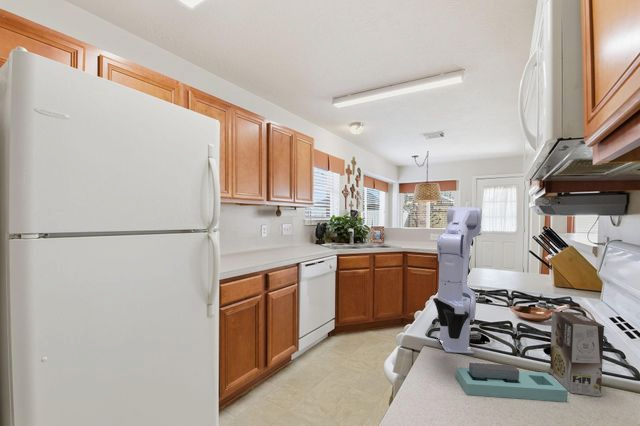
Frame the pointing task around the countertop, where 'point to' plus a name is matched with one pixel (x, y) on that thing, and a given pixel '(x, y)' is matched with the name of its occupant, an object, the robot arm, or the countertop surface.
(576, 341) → the coffee box
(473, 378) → the grey arch block
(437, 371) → the countertop surface
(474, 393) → the teal slotted board
